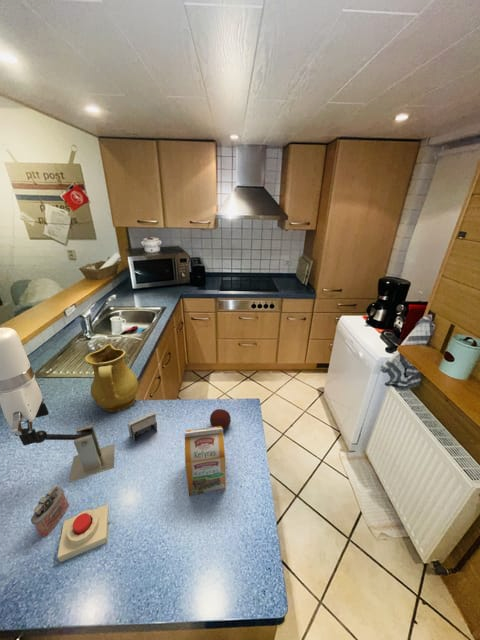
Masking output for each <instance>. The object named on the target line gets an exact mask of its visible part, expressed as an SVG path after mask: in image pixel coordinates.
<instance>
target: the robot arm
mask: <svg viewBox="0 0 480 640" xmlns="http://www.w3.org/2000/svg"><path fill="white" fill-rule="evenodd" d="M0 408H1V410H2V413H3V416H4V418H5V420H6V422H7V424H8V426H9V427H11V429H10V431H11V433H12V434H13V435H14V436H16V437H19V439H20V441H21V443H22V446H29V445H31V444H32V445H33V444H37V443H36V442H38V441H39V437H38V435H37V433H36V432H37V431H36V429H35V428H33V421H34V420H35V419H37V418H42V417H45V416H48V415H49V413H50V412H49V410H48V407H47V405H46V403H45V399H44V398H43V392H42V390H41V387H40V384H38V382H37V380H36V375H35V372H34V370H33V367H32V365H31V363H30V360H29V357H28V355H27V353H26V351H25V348H24V345H23V343H22V341H21V338H20V337H19V333H18V332H17V331H16V330H15V329H14V328H11V327H8V326H7V327H5V326H4V327H2V326H1V327H0ZM23 419H25V420H23ZM23 424H26V425H27V426H26V428H23V427H22V425H23Z"/></svg>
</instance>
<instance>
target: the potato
mask: <svg viewBox="0 0 480 640" xmlns="http://www.w3.org/2000/svg"><path fill="white" fill-rule="evenodd" d="M231 421H232V420H231V414H230V412H229V411H227V410H225V409H223V408H217V409H214V410H213V411H212V412H211V414H210V416H209V423H210V425H211V426H210V427H218V426H222V428H223V431H224V430H226V429H227V428H228V427H230V425H231Z"/></svg>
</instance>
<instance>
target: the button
mask: <svg viewBox="0 0 480 640" xmlns="http://www.w3.org/2000/svg"><path fill="white" fill-rule="evenodd" d="M90 525H91V518H90V516H89V514H87V513H83V514H81V515H79V516H78V517H77V518H76V519H75V520H74V522H73V529H74V531H75V533H77V534H82V533H84V532H85V531H86V530H88V528H89V527H90Z"/></svg>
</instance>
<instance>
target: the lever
mask: <svg viewBox="0 0 480 640" xmlns="http://www.w3.org/2000/svg"><path fill="white" fill-rule="evenodd" d="M36 433H37V435H38V437H39V441H38V442H36V443H35V444H41V443H44V442H45V441H74V439H78V438H82V437H85V436H89V435H92V432H84V431H82V432H81V434H80V435H77V434H69V433H68V434H61V433H47V431H45V430H38V431H36Z"/></svg>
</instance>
